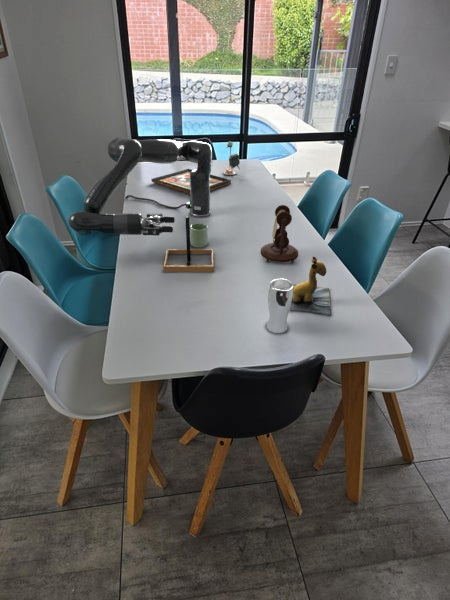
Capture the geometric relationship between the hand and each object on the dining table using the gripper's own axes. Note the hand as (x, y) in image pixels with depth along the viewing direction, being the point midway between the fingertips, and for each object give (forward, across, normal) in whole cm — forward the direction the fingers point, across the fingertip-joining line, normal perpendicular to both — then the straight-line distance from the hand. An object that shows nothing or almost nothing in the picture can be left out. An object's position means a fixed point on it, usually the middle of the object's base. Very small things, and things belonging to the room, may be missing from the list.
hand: (173, 224), depth 143 cm
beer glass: (+33, -41, +16) cm, 55 cm away
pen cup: (+9, +16, +16) cm, 24 cm away
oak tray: (+5, 0, +16) cm, 17 cm away
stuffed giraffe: (+43, -25, +16) cm, 53 cm away
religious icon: (+3, +98, +16) cm, 99 cm away
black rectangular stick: (+5, -1, +15) cm, 16 cm away
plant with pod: (+28, +118, +16) cm, 122 cm away
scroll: (+40, +5, +16) cm, 44 cm away
